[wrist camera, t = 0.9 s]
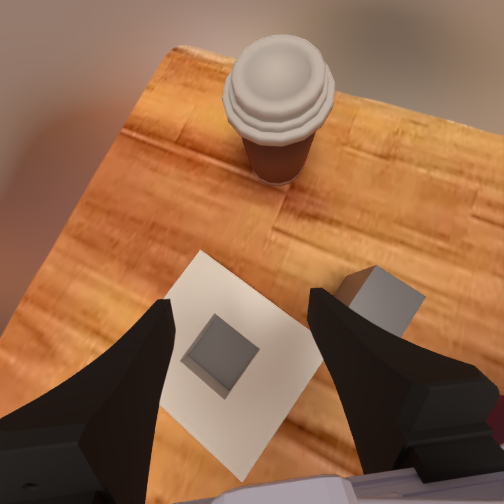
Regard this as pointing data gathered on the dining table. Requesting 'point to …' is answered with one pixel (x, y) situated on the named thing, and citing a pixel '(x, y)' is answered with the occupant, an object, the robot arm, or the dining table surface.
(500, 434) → the cup
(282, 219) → the dining table surface
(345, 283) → the plug
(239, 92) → the coffee cup
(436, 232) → the dining table surface
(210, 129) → the dining table surface
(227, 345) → the socket plate
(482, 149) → the dining table surface
